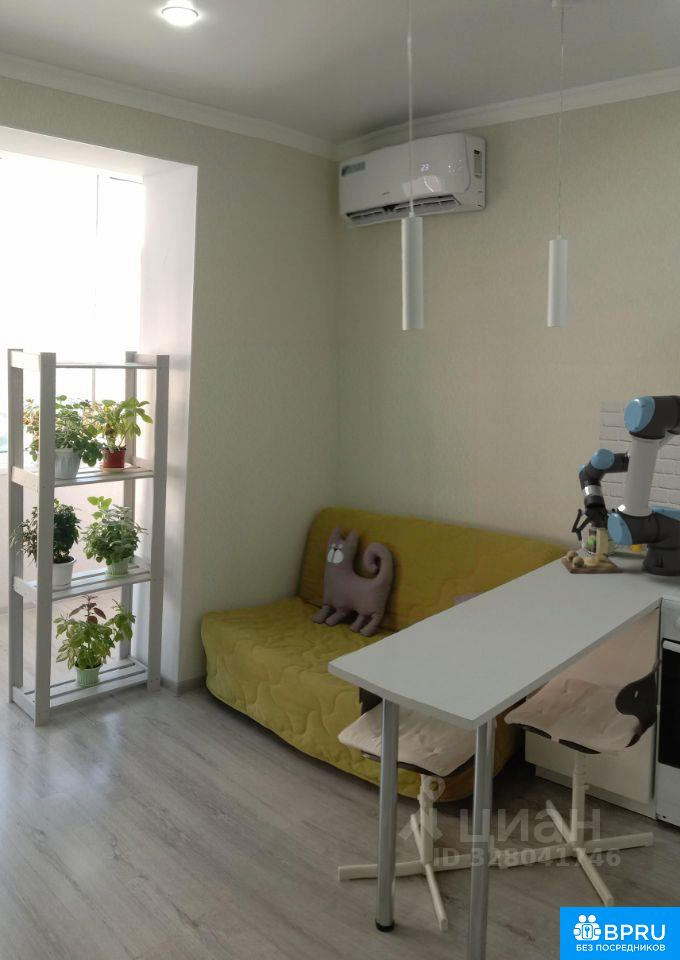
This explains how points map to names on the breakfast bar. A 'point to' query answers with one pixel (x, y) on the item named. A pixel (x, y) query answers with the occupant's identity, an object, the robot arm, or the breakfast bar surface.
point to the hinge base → (587, 564)
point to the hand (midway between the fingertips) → (603, 547)
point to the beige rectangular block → (602, 546)
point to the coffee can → (593, 536)
